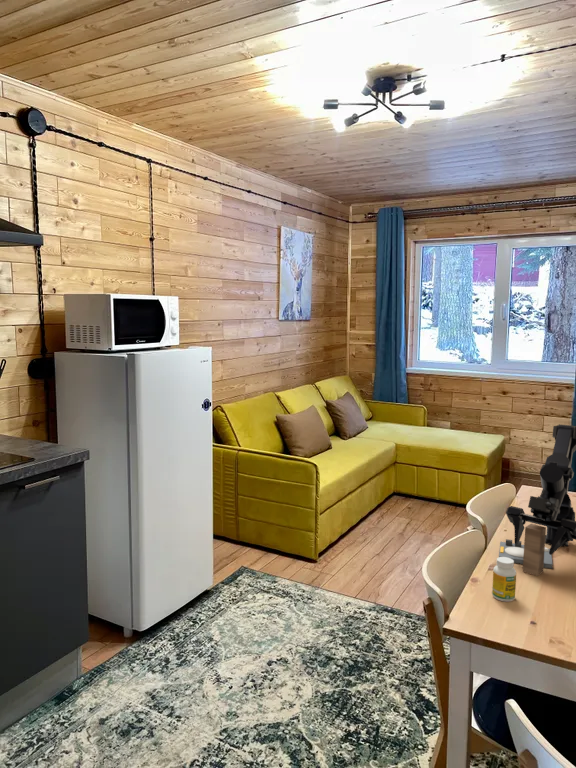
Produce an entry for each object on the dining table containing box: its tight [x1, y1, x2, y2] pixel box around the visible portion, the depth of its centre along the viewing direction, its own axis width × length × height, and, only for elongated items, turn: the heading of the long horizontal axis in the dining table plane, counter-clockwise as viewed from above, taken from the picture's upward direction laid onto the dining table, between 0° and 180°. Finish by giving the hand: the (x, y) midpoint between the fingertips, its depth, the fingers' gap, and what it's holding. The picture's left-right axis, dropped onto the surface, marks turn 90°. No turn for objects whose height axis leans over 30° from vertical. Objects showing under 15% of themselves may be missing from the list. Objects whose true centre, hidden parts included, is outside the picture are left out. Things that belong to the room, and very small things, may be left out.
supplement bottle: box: [491, 556, 517, 603], centre depth 142 cm, size 5×5×10 cm
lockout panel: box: [498, 538, 553, 570], centre depth 167 cm, size 12×14×3 cm
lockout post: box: [522, 523, 547, 577], centre depth 157 cm, size 4×4×12 cm
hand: (532, 549), depth 156 cm, fingers open, 9 cm apart
